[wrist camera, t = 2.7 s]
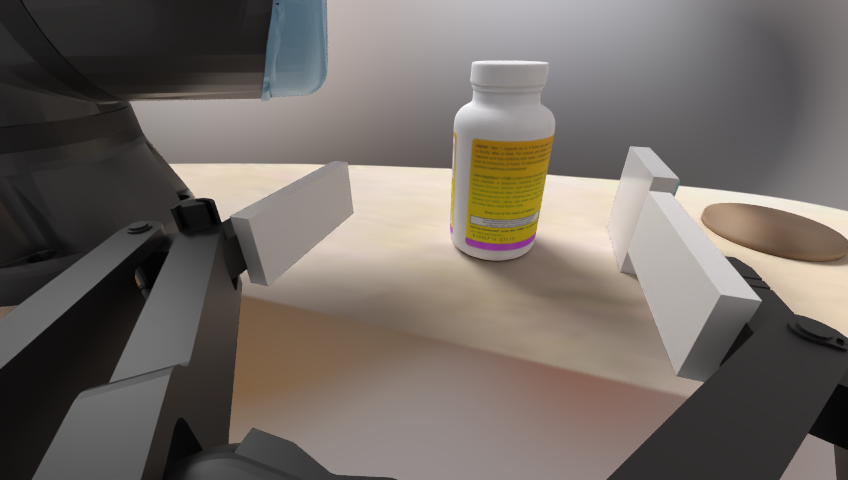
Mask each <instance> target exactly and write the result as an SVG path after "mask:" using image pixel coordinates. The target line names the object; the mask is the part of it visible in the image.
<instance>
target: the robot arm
mask: <svg viewBox="0 0 848 480" xmlns="http://www.w3.org/2000/svg"><path fill="white" fill-rule="evenodd" d="M327 63H328V35H327V0H0V307H1V306H14V305H18V306H17V307H16V308H14V309H13V310H12V311H10V312H9V313H8V314H6V315H5V316H4V317H3V318H1V319H0V480H396V479H393V478H386V477H365V476H345V475H335V474H332V473H330V472H329V471H327V470H326V469H325V468H324V467H323V466H321V465H320V464H319V463H318V462H317V461H315V460H314V459H313V458H311V456H309V455H308V454H307V453H306V452H304V451H303V450H302V449H301V448H300V447H298V446H297V445H296V444H295V443H293V442H291V441H288V440H285V439H282V438H280V437H277V436H274V435H271V434H268V433H266V432H263V431H260V430H257V429H255V428H252V429H251V431H250V432H249V433H248V434H247V436H246V437H245V438H244V440H243V441H242V442H241V443H236V444H229V443H228V441H229V439H228V438H229V426H230V415H231V404H232V393H233V380H234V369H235V358H236V347H237V335H238V324H239V313H240V302H241V291H242V281H241V278H240V274H241V273H242V272H244V271H245V270H246V269H247V271H248V274H249V277H250V280H251V283H256V284H261V285H265V286H269V285H270V284H271V283H272V282H274V281H275V280H276V279H277V278H278V277H279V276H281V275H282V274H283V273H284V272H285V271H286V270H288V269H289V268H290V267H291V266H292V265H293V264H295V263H296V262H297V261H298V260H299V259H300V258H302V257H303V256H304V255H305V254H306V253H307V252H309V251H310V250H311V249H312V248H313V247H314V246H316V245H317V244H318V243H319V242H320V241H321V240H323V239H324V238H325V237H326V236H327V235H328V234H330V233H331V232H332V231H333V230H334V229H335V228H337V227H338V226H339V225H340V224H341V223H342V222H344V221H345V220H346V219H347V218H348V217H350V216H351V215H352V214H353V205H352V197H351V188H350V180H349V172H348V164H347V162H339V161H333V162H331V163H329V164H327V165H325V166H323V167H322V168H320V169H318V170H316V171H314V172H312V173H310V174H308V175H306V176H305V177H303V178H301V179H299V180H297V181H295V182H293V183H291V184H290V185H288V186H286V187H284V188H282V189H280V190H278V191H276V192H275V193H273V194H271V195H269V196H267V197H265V198H263V199H261V200H260V201H258V202H256V203H254V204H252V205H250V206H248V207H246V208H245V209H243V210H241V211H239V212H237V213H235V214H233V215H231V216H230V218H229V219H227V220H226V221H224V222H221V219H220V217H219V214H218V211H217V208H216V205H215V202H214V200H212V199H208V198H199V199H196V198H195V196H194V195H193V193H192V192H191V191H190V190H189V189H188V187H187V186H186V185H185V184H184V182H183V181H182V180H181V179H180V178H179V176H178V175H177V174H176V173H175V172H174V170H173V169H172V168H171V167H170V166H169V164H168V163H167V162H166V161H165V160H164V159H163V157H162V156H161V155H160V154H159V153H158V151H157V150H156V149H155V148H154V147H153V145H152V144H151V143H150V142H149V141H148V139H147V138H146V137H145V135H144V133H143V132H142V129H141V127H140V125H139V123H138V120H137V118H136V116H135V113H134V111H133V108H132V106H131V103H130V101H155V100H156V101H160V100H204V99H205V100H207V99H257V98H261V100H262V101H267V100H270V98H272V97H285V96H299V95H308V94H311V93H314V92H316V91H317V90H318V89H319V88H320V87H321V86H322V85H323V83H324V81H325V79H326V76H327V66H328V65H327ZM628 254H629V256H630V259H631V262H632V264H633V267H634V269H635V272H636V274H637V277H638V279H639V282H640V285H641V287H642V290H643V292H644V295H645V297H646V300H647V303H648V305H649V308H650V310H651V313H652V315H653V318H654V320H655V323H656V326H657V328H658V331H659V333H660V336H661V338H662V341H663V343H664V346H665V349H666V351H667V354H668V356H669V359H670V361H671V364H672V366H673V369H674V372H675V374H676V376H679V377H683V378H688V379H692V380H697V381H702V382H705V383H704V384H703V385H702V386H700V387H699V388H698V389H697V390H696V391H695V392H694V393H693V394H692V395H691V396H690V397H689V398H688V399H687V400H686V401H685V402H684V404H682V405H681V406H680V407H679V408H678V409H677V410H676V411H675V412H674V413H673V414H672V415H671V416H670V417H669V418H668V419H667V420H666V421H665V422H664V423H663V424H662V425H661V426H660V427H659V428H658V429H657V430H656V431H655V432H654V433H653V434H652V435H651V436H650V437H649V438H648V439H647V440H646V441H645V442H644V443H643V444H642V445H641V446H640V447H639V448H638V449H637V450H636V451H635V452H634V453H633V454H632V455H631V456H630V457H629V458H628V459H627V460H626V461H625V462H624V463H623V464H622V465H621V466H620V467H619V468H618V469H617V470H616V471H615V472H614V473H613V474H612V475H611V476H610V477H609V478H608V479H607V480H779V479H780V478H781V476H782V475H783V473H784V471H785V470H786V468H787V466H788V465H789V463H790V461H791V460H792V458H793V457H794V455H795V453H796V451H797V450H798V448H799V447H800V445H801V443H802V442H803V440H804V439H805V437H806V435H807V434H808V433H809V434H811V435H813V436H816V437H818V438H820V439H822V440H825V441H827V442H830V443H832V444H834V452H835V464H836V476H837V480H848V338H847V337H845V336H844V335H843V334H841V333H840V332H838V331H837V330H835V329H833V328H831V327H829V326H827V325H825V324H823V323H821V322H819V321H816V320H813V319H810V318H808V317H805V316H800V315H796V314H794V313H793V312H792V311H791V310H790V309H789V307H788V306H787V305H786V304H785V303H784V302H783V301H782V300H781V299H780V298H779V297H778V296H777V295H776V293H775V292H774V291H773V290H770V287H769V286H768V285H767V284H766V283H765V282H764V281H762V278H761V277H760V276H759V275H758V274H757V273H756V272H755V271H754V270H753V269H752V268H751V267H749V266H748V265H746V264H745V263H743V262H741V261H740V260H738V259H737V258H734V257H726V256H724V255H723V254H722V253H721V252H720V251H719V249H718V248H717V247H716V246H715V245H714V243H713V242H712V241H711V240H710V239H709V238H708V236H707V235H706V234H705V233H704V232H703V230H702V229H701V228H700V227H699V226H698V225H697V223H696V222H695V221H694V220H693V219H692V217H691V216H690V215H689V214H688V213H687V211H686V210H685V209H684V208H683V207H682V206H681V204H680V203H679V202H678V201H677V200H676V198H675V197H674V196H673V195H672V194H671V193H666V192H655V191H648V193H647V196H646V199H645V202H644V205H643V208H642V210H641V213H640V216H639V219H638V222H637V225H636V228H635V231H634V234H633V236H632V239H631V242H630V245H629V248H628ZM135 273H136V275H137V277H138V279H139V280H140V282H141V285H140V286H139V287H138V285H137V283H136V280H135Z"/></svg>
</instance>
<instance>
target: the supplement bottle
mask: <svg viewBox="0 0 848 480" xmlns="http://www.w3.org/2000/svg"><path fill="white" fill-rule="evenodd" d="M548 70H549V63H546V62H537V61H475V62H473V63H472V71H471V79H470V81H471V82H472V88H473V89H474V92H473V99H472V102H470V103H468V104H466V105H465V106H463V107H462V108H461V109H460V110H459V111H458V113H457V114H456V117H455V121H454V138H453V168H452V192H451V218H450V236H451V239H452V241H453V243H454V244H455V246H456V247H458V248H459V249H460V250H461V251H463V252H465V253H466V254H468V255H471V256H473V257H476V258H480V259H485V260H494V261H499V260H509V259H514V258H517V257H520V256H522V255H524V254H525V253H527V252H528V251H529V250H530V249H531V247H532V246H533V244H534V240H535V235H536V230H537V224H538V219H539V213H540V208H541V202H542V196H543V191H544V185H545V179H546V174H547V168H548V163H549V158H550V152H551V147H552V142H553V137H554V130H555V119H554V116H553V114H552V112H551V111H550V110H549V109H548V108H546V107H545V106H543V105H542V104H541V103H540V96H541V90H542V89H544V84H546V82H547V77H548Z"/></svg>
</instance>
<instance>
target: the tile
mask: <svg viewBox="0 0 848 480" xmlns="http://www.w3.org/2000/svg"><path fill="white" fill-rule="evenodd" d="M679 184H680V180H679V178H678V177H677V176H676V175H675V174H674V173H673V172H672V171H671V170H670V169H669V168H668V167H667V166H666V165H665V164H664V162H662V160H661V159H660V158H659V157H658V156H657V155H656V154H655V153H654V152H653V151H652V150H651V149H650V148H645V147H630V149H629V153H628V156H627V159H626V163H625V166H624V169H623V173H622V176H621V179H620V182H619V186H618V189H617V192H616V196H615V199H614V202H613V206H612V209H611V212H610V215H609V219H608V222H607V225H606V228H607V232H608V235H609V238H610V241H611V244H612V248H613V251H614V254H615V257H616V260H617V264H618V267H619V270H620V272H624V273H630V274H636V272H635V269H634V267H633V264H632V262H631V259H630V256H629V254H628V248H629V245H630V242H631V239H632V236H633V234H634V231H635V228H636V225H637V222H638V219H639V216H640V213H641V210H642V208H643V205H644V202H645V199H646V196H647V193H648V191H655V192H666V193H671V194H672V195H673V196H675V194H676V191H677V189H678V186H679ZM636 275H637V274H636Z"/></svg>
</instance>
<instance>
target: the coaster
mask: <svg viewBox="0 0 848 480" xmlns="http://www.w3.org/2000/svg"><path fill="white" fill-rule="evenodd" d="M701 219H702V222H703V223H704V225H706V226H707V227H708V228H709V229H710V230H711V231H713V232H715V233H716V234H718V235H720V236H722V237H723V238H726V239H728V240H730V241H732V242H735V243H737V244H739V245H742V246H745V247H748V248H751V249H754V250H757V251H760V252H764V253H768V254H772V255H776V256H780V257H785V258H791V259H797V260H805V261H833V260H837V259H840V258H842V257H843V256H844V255H845V253H846V252H847V251H848V240H847V239H846V238H845V237H844V236H842V235H841V234H840V233H838V232H837V231H835V230H833V229H831V228H829V227H827V226H825V225H823V224H821V223H818V222H816V221H813V220H811V219H808V218H805V217H802V216H799V215H796V214H792V213H789V212H785V211H781V210H777V209H773V208H768V207H763V206H757V205H750V204H740V203H719V204H713V205H710V206H708V207H706V208H705V210H704V212H703V214H702V216H701Z"/></svg>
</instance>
